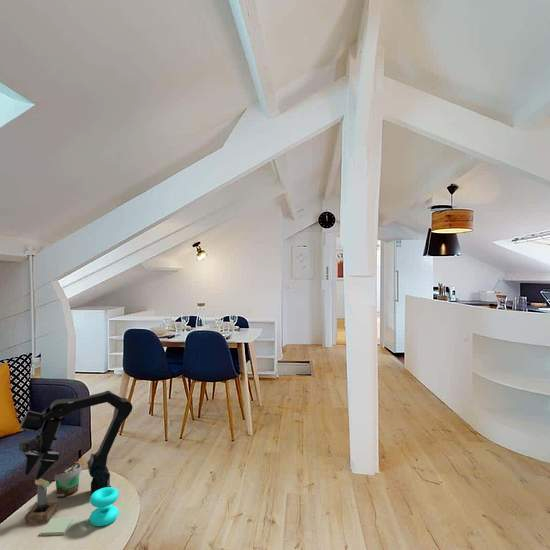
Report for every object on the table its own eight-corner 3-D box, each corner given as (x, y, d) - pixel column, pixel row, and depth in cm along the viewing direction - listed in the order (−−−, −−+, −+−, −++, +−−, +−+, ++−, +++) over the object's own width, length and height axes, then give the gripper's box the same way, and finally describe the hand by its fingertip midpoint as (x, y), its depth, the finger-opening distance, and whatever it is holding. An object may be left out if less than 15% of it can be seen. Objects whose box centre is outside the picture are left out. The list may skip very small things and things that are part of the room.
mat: (73, 520, 144) (73, 517, 144) (63, 534, 136) (63, 531, 136) (51, 521, 144) (51, 518, 144) (40, 535, 136) (40, 532, 136)
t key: (32, 516, 146) (33, 480, 146) (40, 512, 149) (41, 477, 149) (42, 521, 144) (43, 484, 144) (50, 516, 146) (51, 480, 146)
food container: (67, 501, 156) (67, 477, 156) (54, 499, 157) (54, 475, 157) (87, 485, 168) (88, 462, 168) (75, 483, 169) (75, 461, 169)
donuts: (114, 499, 141) (85, 501, 140) (113, 527, 141) (85, 528, 140) (122, 485, 151) (95, 486, 150) (121, 510, 151) (95, 511, 150)
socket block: (57, 509, 151) (57, 502, 151) (47, 522, 143) (47, 514, 143) (36, 510, 150) (36, 502, 150) (24, 523, 142) (24, 515, 142)
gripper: (17, 427, 152) (-2, 471, 146) (38, 433, 141) (20, 481, 135) (45, 431, 160) (28, 472, 154) (67, 437, 149) (51, 482, 143)
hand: (31, 477), depth 146 cm, fingers open, 9 cm apart
